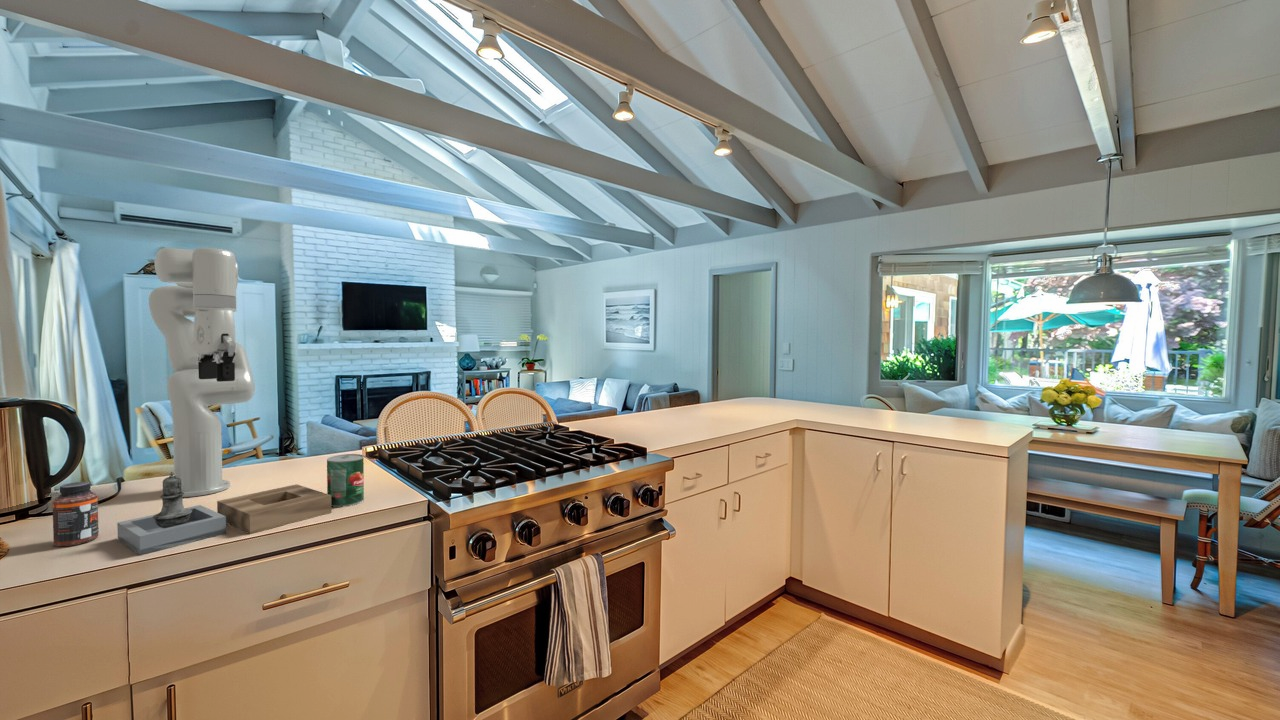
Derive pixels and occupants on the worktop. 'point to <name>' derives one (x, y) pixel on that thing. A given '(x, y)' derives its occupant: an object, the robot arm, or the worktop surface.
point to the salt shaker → (172, 504)
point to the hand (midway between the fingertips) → (216, 380)
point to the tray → (170, 531)
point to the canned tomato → (345, 479)
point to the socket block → (274, 508)
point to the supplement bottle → (75, 515)
